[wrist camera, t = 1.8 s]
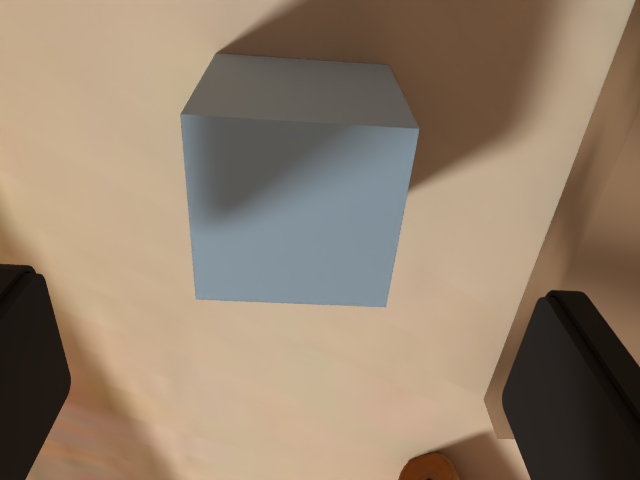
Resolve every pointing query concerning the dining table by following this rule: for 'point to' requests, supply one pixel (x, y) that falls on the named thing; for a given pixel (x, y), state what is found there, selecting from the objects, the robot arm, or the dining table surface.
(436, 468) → the kendama
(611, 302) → the board
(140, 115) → the dining table surface
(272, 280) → the cube
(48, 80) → the dining table surface
